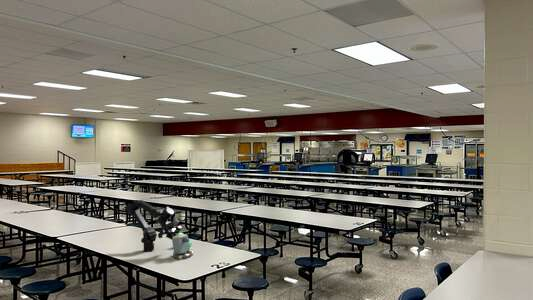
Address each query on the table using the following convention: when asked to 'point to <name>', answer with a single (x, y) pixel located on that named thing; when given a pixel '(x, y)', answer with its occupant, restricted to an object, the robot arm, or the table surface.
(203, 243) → the table surface
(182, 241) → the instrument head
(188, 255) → the tribrach base
